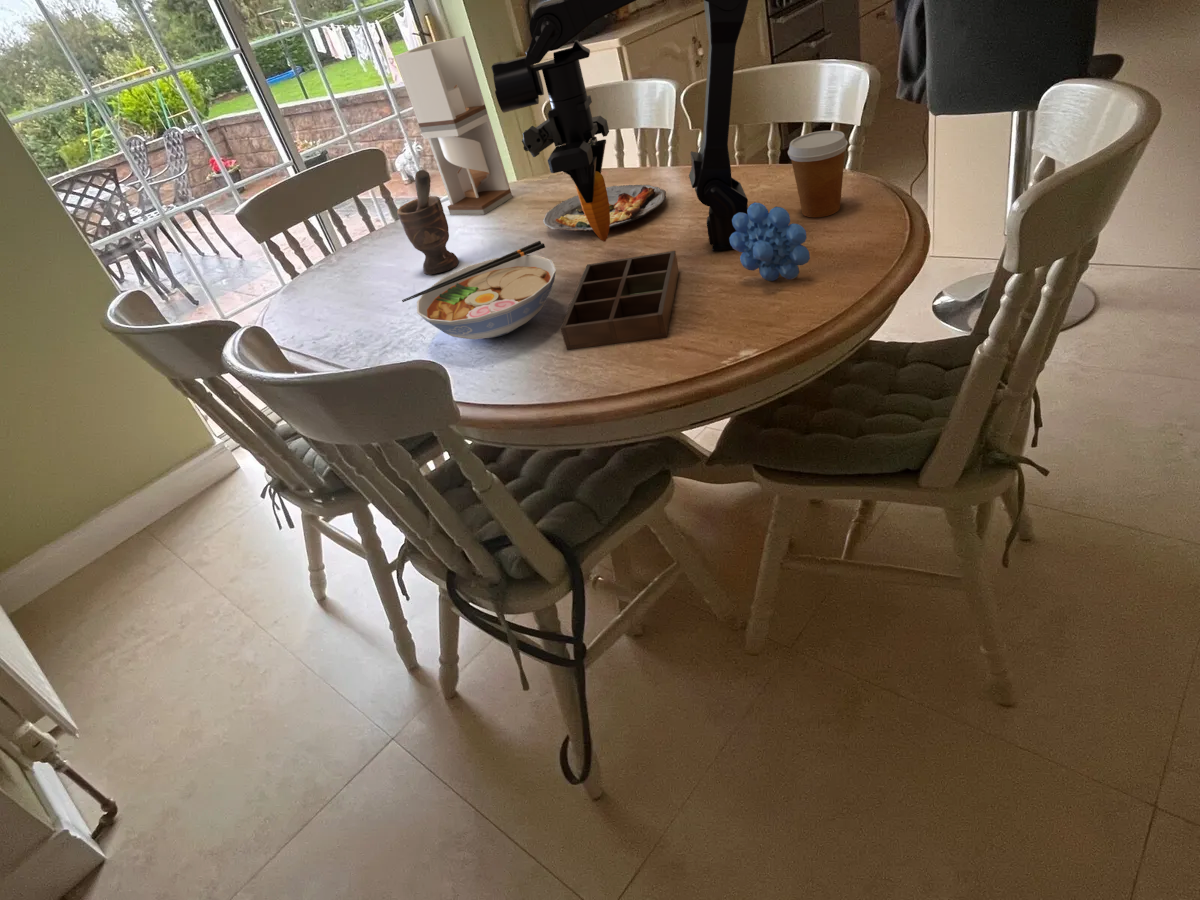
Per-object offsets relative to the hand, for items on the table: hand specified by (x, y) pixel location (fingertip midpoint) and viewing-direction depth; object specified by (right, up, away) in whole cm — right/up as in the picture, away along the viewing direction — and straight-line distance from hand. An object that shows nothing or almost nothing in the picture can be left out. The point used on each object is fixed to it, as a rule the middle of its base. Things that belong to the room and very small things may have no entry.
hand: (592, 196), depth 122 cm
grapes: (+27, -17, -11) cm, 34 cm away
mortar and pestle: (-29, -5, +27) cm, 40 cm away
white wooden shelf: (-27, +17, +57) cm, 65 cm away
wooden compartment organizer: (+5, -20, -7) cm, 21 cm away
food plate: (+3, +6, +30) cm, 31 cm away
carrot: (+2, -6, +4) cm, 8 cm away
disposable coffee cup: (+40, 0, +7) cm, 40 cm away
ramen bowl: (-15, -22, -1) cm, 26 cm away
